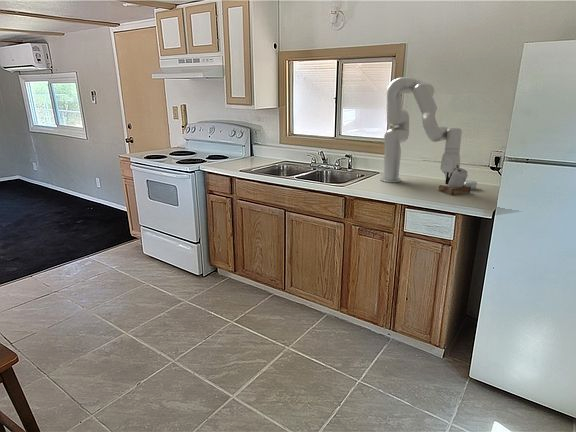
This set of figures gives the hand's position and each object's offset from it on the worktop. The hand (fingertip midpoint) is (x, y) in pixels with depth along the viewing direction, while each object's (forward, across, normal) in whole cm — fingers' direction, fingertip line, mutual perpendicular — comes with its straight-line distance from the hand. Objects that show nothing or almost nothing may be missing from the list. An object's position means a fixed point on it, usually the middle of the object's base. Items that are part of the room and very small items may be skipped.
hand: (448, 184), depth 218 cm
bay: (+3, +5, 0) cm, 6 cm away
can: (+2, +4, 0) cm, 5 cm away
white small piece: (+3, +3, +12) cm, 13 cm away
